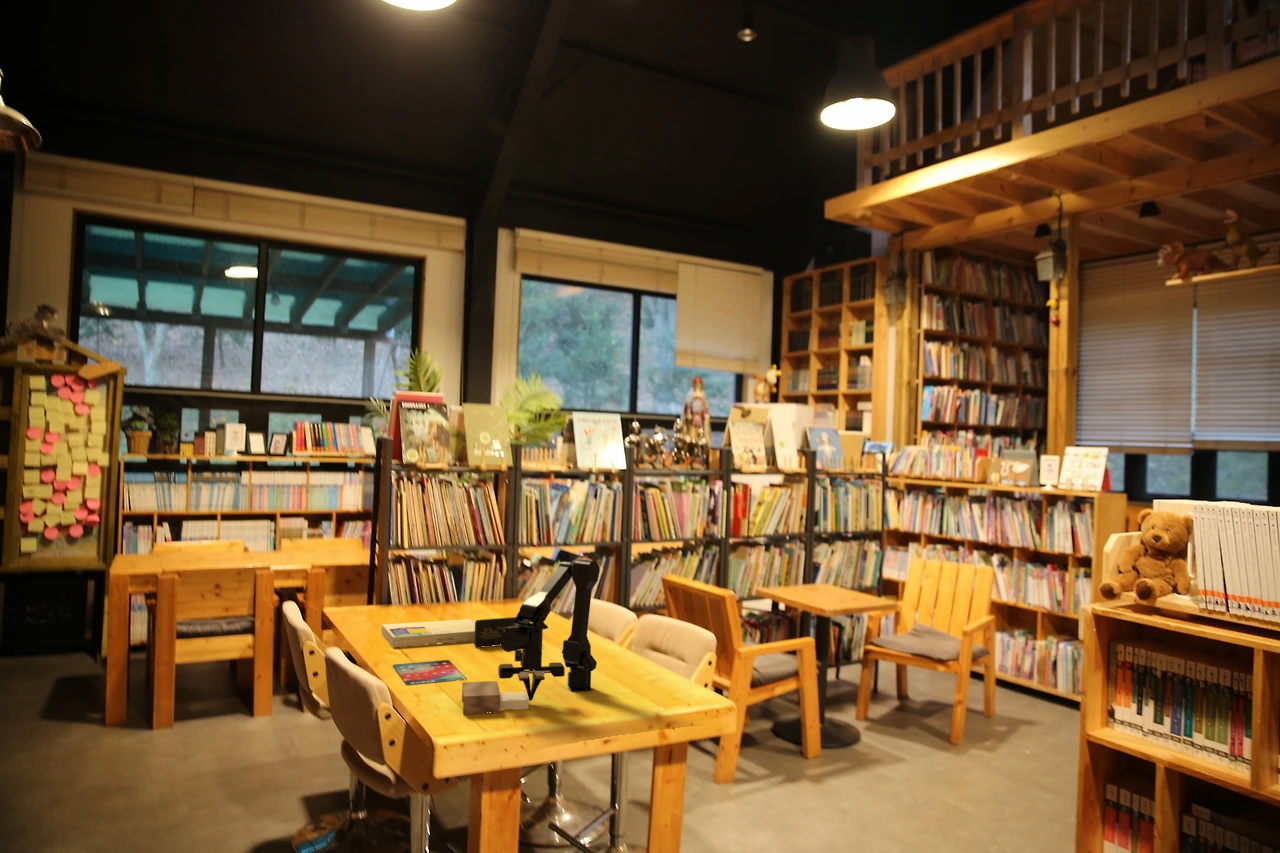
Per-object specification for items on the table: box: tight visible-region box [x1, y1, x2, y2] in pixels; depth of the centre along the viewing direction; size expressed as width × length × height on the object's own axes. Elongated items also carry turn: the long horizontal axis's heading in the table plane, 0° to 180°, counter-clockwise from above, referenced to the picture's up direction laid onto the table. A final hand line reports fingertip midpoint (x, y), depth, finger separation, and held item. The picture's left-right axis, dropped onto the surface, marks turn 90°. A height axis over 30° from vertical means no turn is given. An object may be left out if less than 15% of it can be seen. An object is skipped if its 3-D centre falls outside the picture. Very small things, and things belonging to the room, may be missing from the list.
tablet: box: [392, 659, 467, 686], centre depth 269 cm, size 19×25×1 cm
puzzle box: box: [380, 618, 476, 649], centre depth 318 cm, size 36×5×24 cm
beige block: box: [500, 691, 530, 710], centre depth 237 cm, size 10×8×3 cm
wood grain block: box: [461, 680, 501, 715], centre depth 235 cm, size 10×14×5 cm
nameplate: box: [473, 616, 531, 648], centre depth 310 cm, size 21×2×10 cm, turn 119°
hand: (530, 700), depth 238 cm, fingers closed
